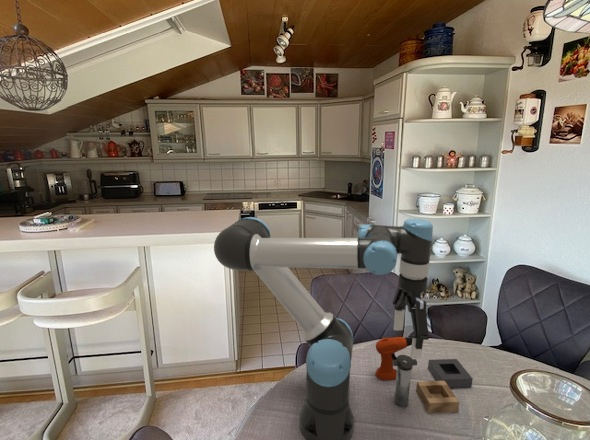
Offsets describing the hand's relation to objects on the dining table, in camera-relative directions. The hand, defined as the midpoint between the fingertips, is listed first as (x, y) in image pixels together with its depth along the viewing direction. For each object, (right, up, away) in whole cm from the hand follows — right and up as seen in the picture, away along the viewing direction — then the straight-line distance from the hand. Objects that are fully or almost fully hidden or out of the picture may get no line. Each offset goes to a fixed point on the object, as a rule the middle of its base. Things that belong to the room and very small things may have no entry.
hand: (406, 342), depth 99 cm
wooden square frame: (+11, -20, +5) cm, 23 cm away
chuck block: (+19, -17, +15) cm, 30 cm away
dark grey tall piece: (0, -20, +5) cm, 21 cm away
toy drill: (+3, -17, +17) cm, 24 cm away
